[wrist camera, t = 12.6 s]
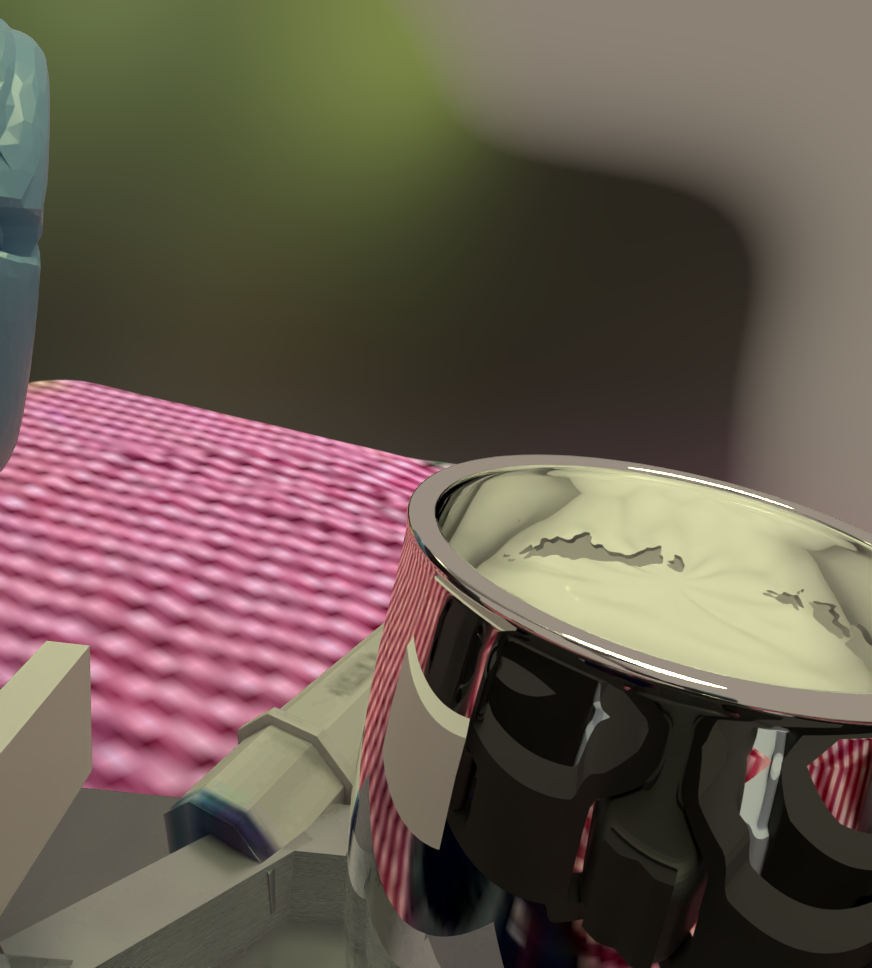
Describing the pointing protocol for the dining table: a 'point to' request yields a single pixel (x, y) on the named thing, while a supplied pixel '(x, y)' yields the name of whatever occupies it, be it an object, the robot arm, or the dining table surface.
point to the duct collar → (174, 895)
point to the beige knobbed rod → (283, 766)
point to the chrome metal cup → (615, 728)
